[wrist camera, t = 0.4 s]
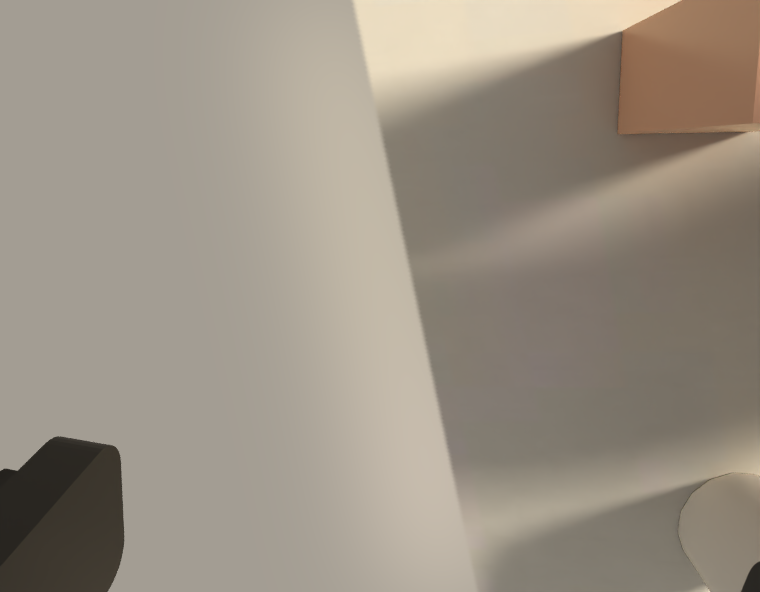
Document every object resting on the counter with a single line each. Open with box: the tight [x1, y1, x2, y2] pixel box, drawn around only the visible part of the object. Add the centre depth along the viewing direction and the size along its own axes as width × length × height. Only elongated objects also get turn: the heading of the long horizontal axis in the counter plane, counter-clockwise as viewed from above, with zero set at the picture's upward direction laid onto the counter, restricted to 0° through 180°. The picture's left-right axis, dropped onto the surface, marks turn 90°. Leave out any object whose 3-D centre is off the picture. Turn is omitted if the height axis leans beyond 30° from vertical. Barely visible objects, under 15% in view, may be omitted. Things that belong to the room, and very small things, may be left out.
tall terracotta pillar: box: [618, 0, 760, 134], centre depth 26 cm, size 4×6×12 cm
